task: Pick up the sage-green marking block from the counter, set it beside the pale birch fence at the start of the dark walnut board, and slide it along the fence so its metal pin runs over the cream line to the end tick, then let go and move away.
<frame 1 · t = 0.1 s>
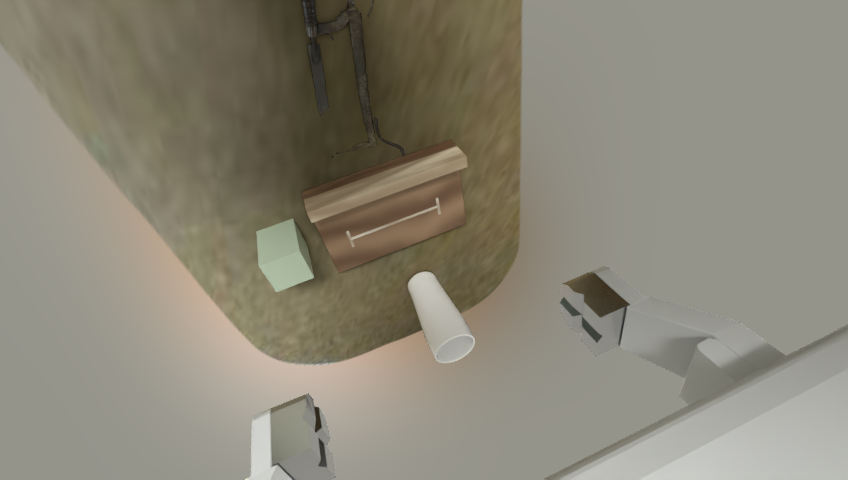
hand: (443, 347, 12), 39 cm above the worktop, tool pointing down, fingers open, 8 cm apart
walnut board: (390, 205, 56), on the worktop
drinking glass: (420, 280, 69), on the worktop
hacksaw: (357, 79, 45), on the worktop, touching walnut board
marking block: (282, 238, 53), on the worktop
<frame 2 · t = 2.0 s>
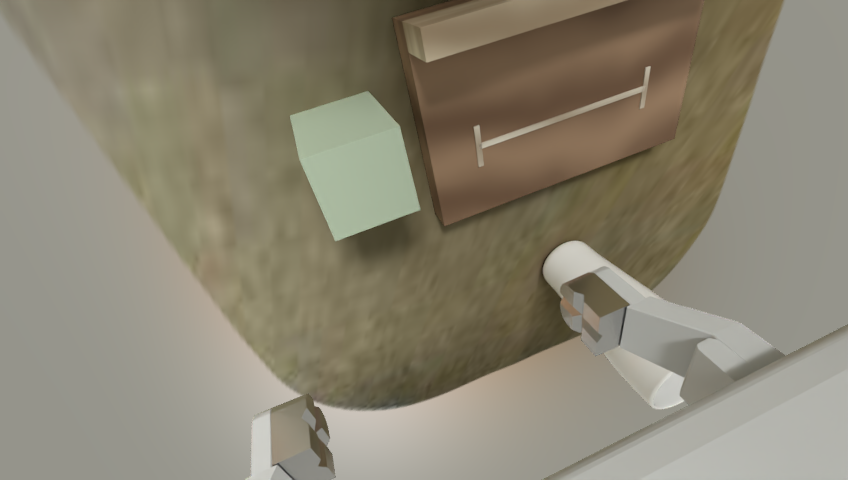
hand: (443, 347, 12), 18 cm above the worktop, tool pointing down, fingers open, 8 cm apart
walnut board: (551, 85, 28), on the worktop
drinking glass: (561, 258, 40), on the worktop
marking block: (342, 140, 25), on the worktop
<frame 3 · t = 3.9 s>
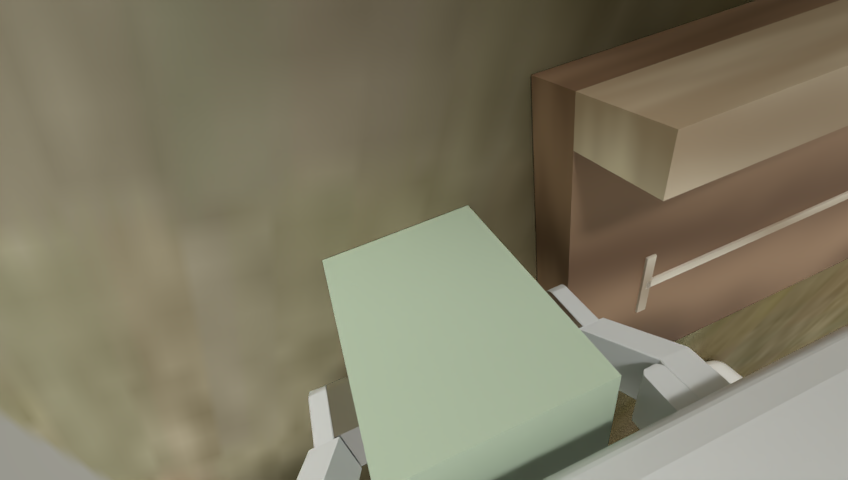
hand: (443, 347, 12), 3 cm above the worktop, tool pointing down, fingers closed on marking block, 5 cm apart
walnut board: (749, 169, 17), on the worktop
drinking glass: (686, 379, 28), on the worktop
marking block: (413, 286, 14), on the worktop, touching gripper
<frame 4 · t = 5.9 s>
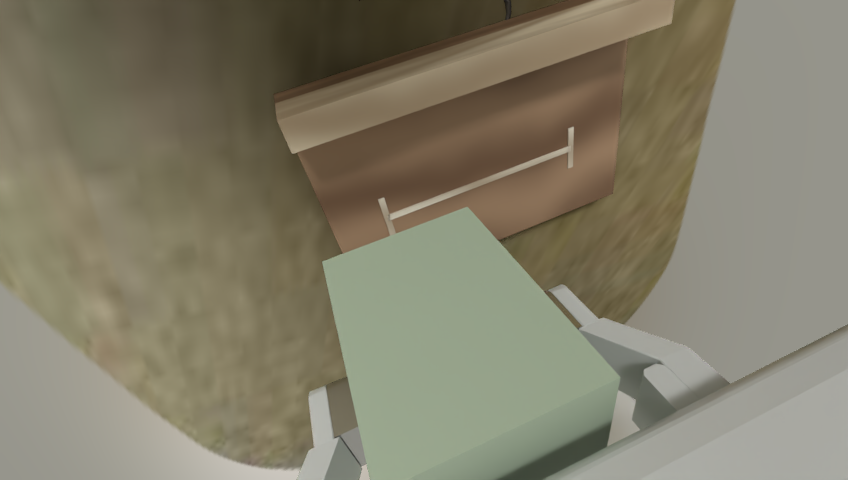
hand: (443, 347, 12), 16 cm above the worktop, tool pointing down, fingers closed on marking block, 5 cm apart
walnut board: (469, 148, 27), on the worktop
drinking glass: (508, 311, 38), on the worktop
marking block: (413, 287, 14), point 13 cm above the worktop, touching gripper
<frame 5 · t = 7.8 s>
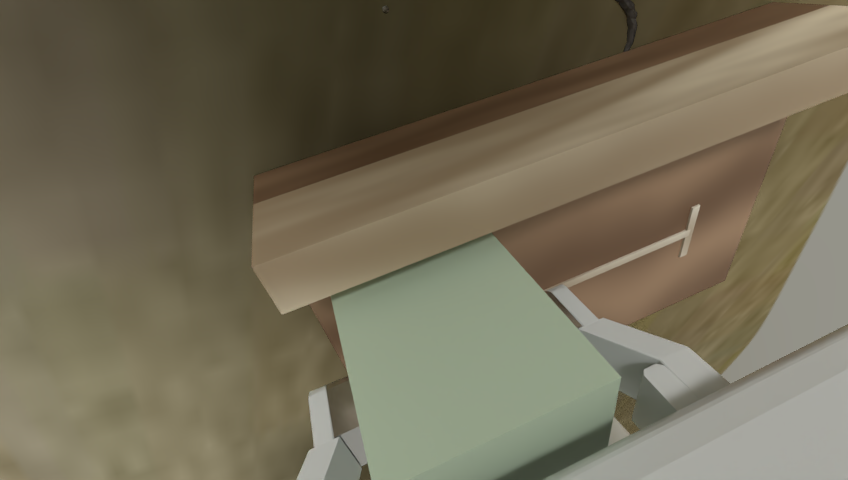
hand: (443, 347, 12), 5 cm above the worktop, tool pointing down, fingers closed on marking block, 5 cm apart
walnut board: (544, 231, 18), on the worktop
drinking glass: (562, 409, 30), on the worktop
marking block: (414, 287, 14), point 2 cm above the worktop, touching gripper
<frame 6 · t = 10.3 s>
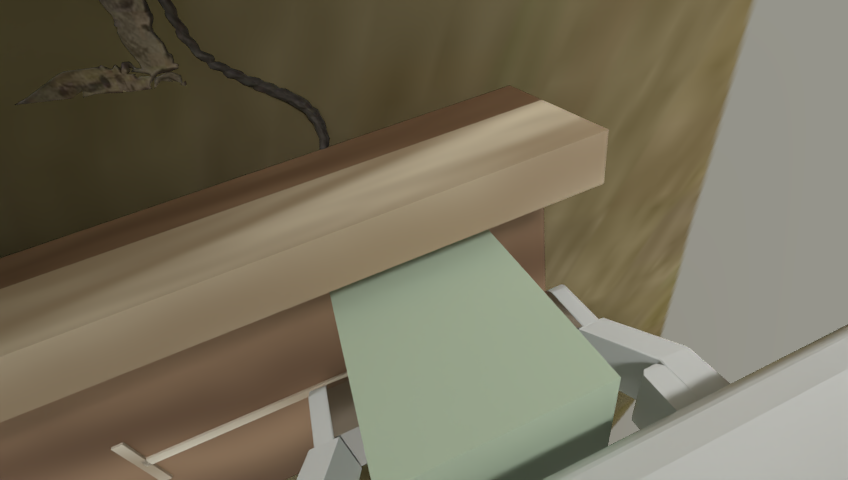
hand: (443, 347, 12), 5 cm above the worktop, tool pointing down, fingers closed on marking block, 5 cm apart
walnut board: (300, 326, 17), on the worktop
marking block: (414, 287, 14), point 2 cm above the worktop, touching gripper
when the fingers open (5 cm above the worktop, at t = 12.0 s): marking block stays where it is, resting on walnut board.
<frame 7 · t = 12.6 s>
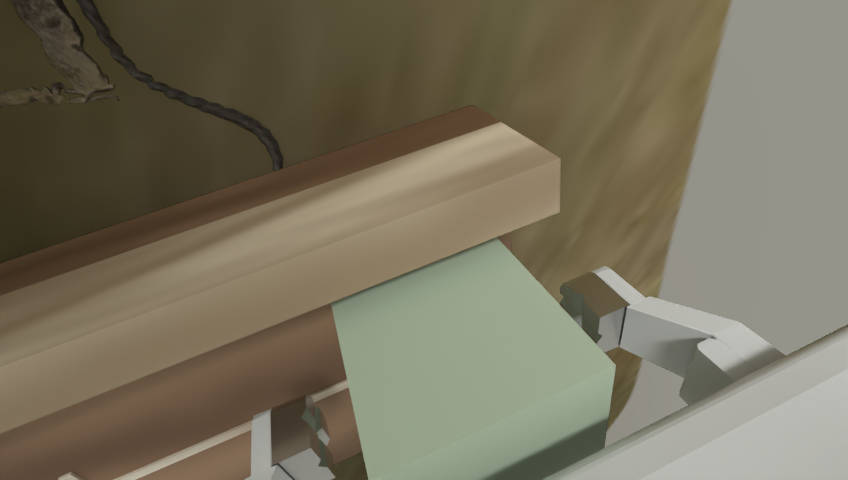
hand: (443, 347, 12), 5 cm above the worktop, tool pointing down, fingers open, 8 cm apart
walnut board: (262, 349, 16), on the worktop
marking block: (412, 285, 14), point 2 cm above the worktop, touching walnut board
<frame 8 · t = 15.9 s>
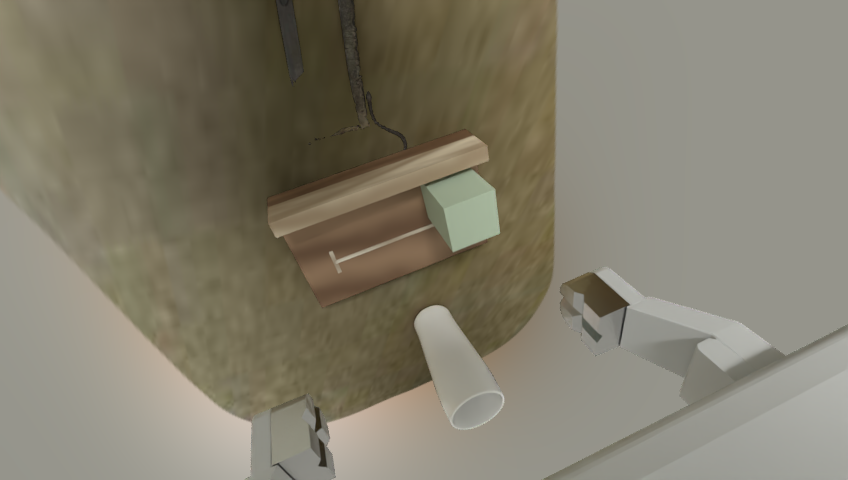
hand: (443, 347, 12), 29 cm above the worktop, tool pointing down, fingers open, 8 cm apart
walnut board: (388, 218, 43), on the worktop
drinking glass: (430, 316, 55), on the worktop
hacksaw: (343, 35, 33), on the worktop
marking block: (445, 190, 41), point 2 cm above the worktop, touching walnut board
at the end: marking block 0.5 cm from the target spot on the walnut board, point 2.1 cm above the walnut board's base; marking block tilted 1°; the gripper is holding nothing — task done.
